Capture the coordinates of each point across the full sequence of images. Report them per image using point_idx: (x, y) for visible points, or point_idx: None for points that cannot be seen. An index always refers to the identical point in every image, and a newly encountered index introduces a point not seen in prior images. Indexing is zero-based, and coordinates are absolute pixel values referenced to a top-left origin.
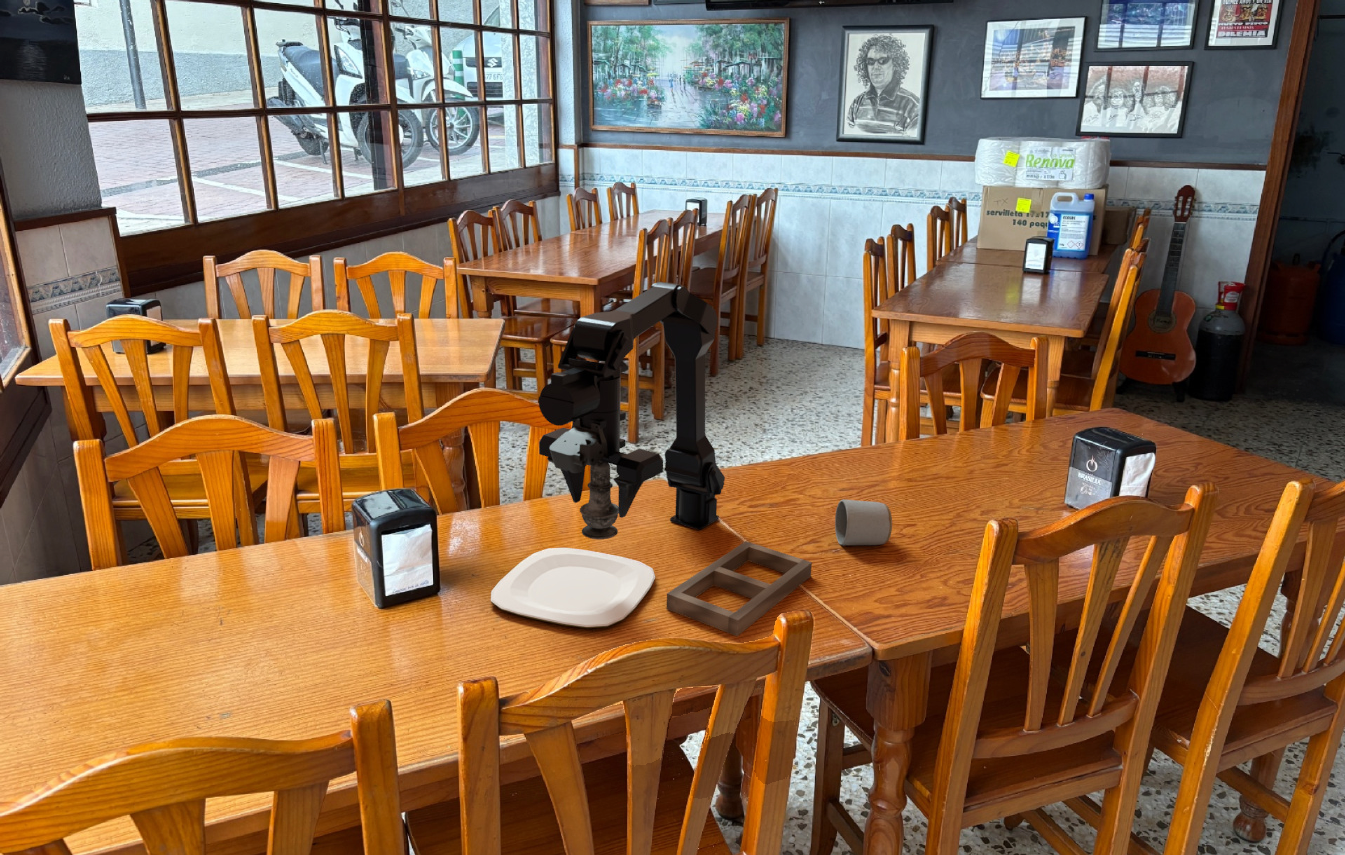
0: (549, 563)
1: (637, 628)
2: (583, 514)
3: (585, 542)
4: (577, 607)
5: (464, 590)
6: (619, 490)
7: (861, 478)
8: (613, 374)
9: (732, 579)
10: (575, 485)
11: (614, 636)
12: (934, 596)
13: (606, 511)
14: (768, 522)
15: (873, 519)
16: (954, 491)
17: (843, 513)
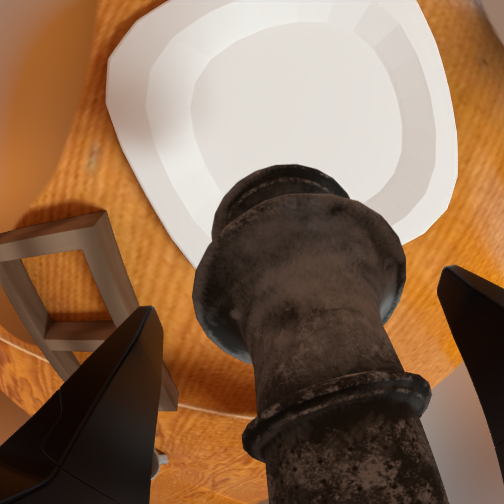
0: (414, 167)
1: (85, 118)
2: (336, 196)
3: (408, 279)
4: (232, 66)
5: (457, 7)
6: (57, 446)
7: (230, 487)
8: None
9: (92, 336)
10: (495, 331)
11: (93, 63)
12: (23, 401)
13: (229, 297)
14: (227, 439)
15: None
16: (166, 490)
17: (154, 468)
